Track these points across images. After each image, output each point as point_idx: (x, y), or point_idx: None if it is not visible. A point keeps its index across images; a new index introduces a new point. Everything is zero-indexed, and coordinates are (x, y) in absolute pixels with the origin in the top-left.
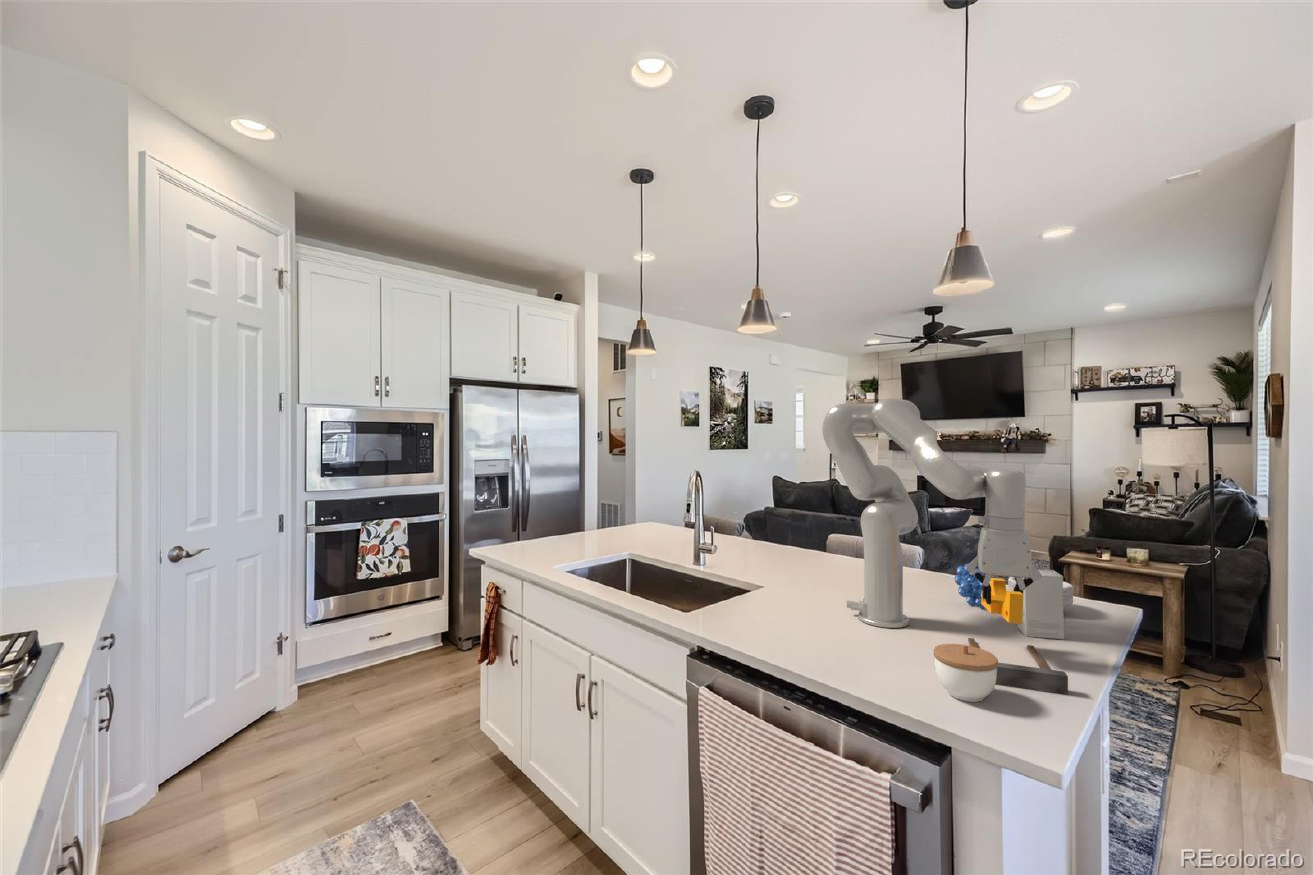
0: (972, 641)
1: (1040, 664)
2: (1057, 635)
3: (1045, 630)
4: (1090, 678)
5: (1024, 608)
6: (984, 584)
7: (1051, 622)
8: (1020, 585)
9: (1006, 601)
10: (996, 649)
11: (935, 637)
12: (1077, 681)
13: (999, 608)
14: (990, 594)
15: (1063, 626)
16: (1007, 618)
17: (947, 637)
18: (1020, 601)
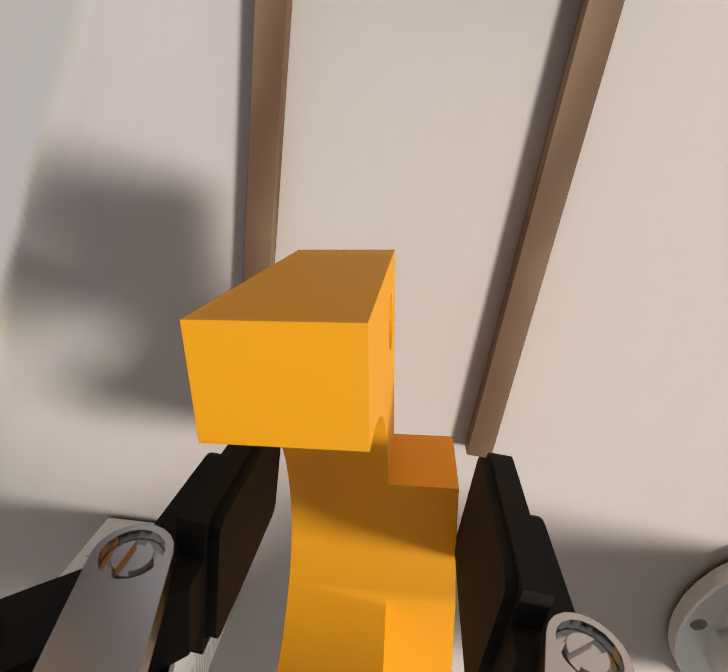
0: (489, 416)
1: (274, 180)
2: (119, 528)
3: None
4: (99, 108)
5: None
6: (593, 646)
7: None
8: (138, 580)
9: (381, 379)
10: (397, 375)
11: (624, 468)
12: (161, 47)
13: (393, 458)
14: (499, 519)
15: (73, 559)
16: (392, 292)
17: (565, 476)
18: (255, 293)
